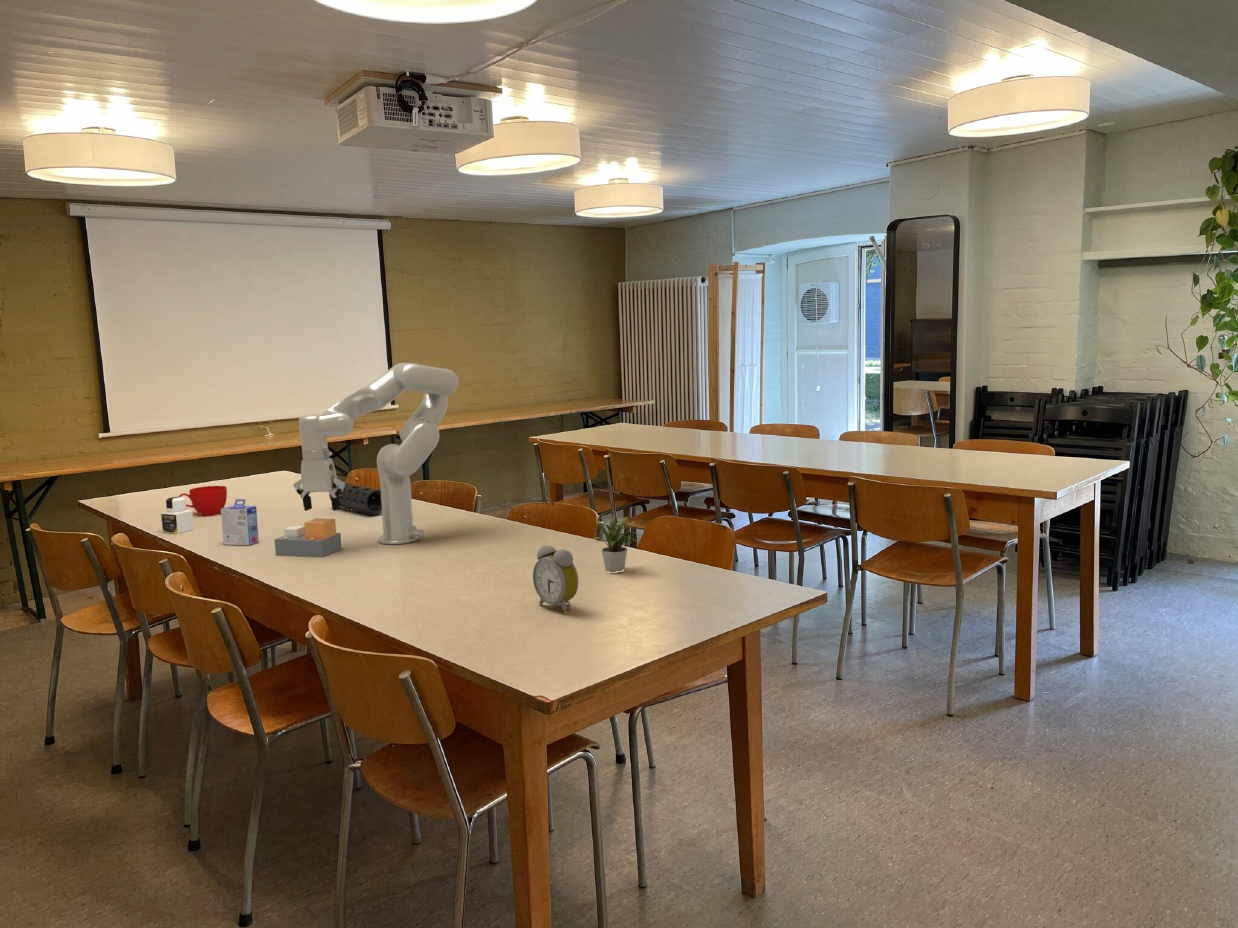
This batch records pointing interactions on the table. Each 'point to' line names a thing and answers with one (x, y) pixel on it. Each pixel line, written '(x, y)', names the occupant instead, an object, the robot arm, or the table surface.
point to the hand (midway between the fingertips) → (322, 509)
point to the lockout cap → (320, 528)
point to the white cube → (294, 531)
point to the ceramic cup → (207, 499)
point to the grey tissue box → (307, 546)
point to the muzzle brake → (360, 499)
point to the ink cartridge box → (239, 524)
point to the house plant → (614, 545)
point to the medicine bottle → (177, 516)
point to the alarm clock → (555, 576)
